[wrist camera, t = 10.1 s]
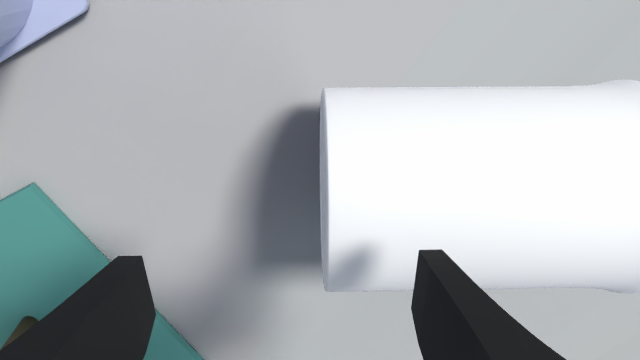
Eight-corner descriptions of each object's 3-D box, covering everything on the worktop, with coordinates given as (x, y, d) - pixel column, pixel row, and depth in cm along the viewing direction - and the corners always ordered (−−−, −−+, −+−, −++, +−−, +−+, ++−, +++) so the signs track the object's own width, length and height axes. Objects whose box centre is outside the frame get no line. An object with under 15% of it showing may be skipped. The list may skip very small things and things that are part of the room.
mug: (548, 318, 23) (320, 323, 23) (514, 172, 27) (317, 175, 26) (754, 261, 12) (329, 268, 12) (651, 31, 16) (322, 31, 16)
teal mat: (-193, 301, 24) (-202, 307, 24) (33, 182, 21) (28, 187, 21) (24, 445, 31) (20, 453, 31) (215, 371, 29) (214, 378, 28)
